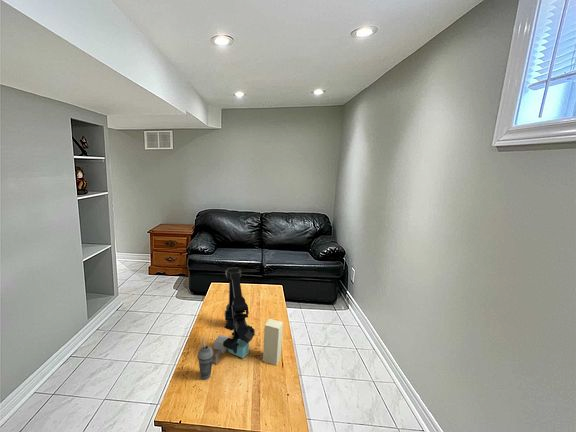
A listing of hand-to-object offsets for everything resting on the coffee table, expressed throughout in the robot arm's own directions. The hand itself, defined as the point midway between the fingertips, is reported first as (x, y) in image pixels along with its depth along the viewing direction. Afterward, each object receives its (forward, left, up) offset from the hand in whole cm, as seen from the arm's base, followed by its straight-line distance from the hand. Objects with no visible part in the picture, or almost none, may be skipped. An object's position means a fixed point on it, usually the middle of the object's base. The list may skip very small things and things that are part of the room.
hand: (238, 350), depth 145 cm
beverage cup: (-3, -21, -2) cm, 21 cm away
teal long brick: (0, 0, -1) cm, 1 cm away
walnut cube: (-7, -11, -2) cm, 13 cm away
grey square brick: (-10, -2, -2) cm, 10 cm away
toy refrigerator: (+18, +6, -2) cm, 19 cm away
